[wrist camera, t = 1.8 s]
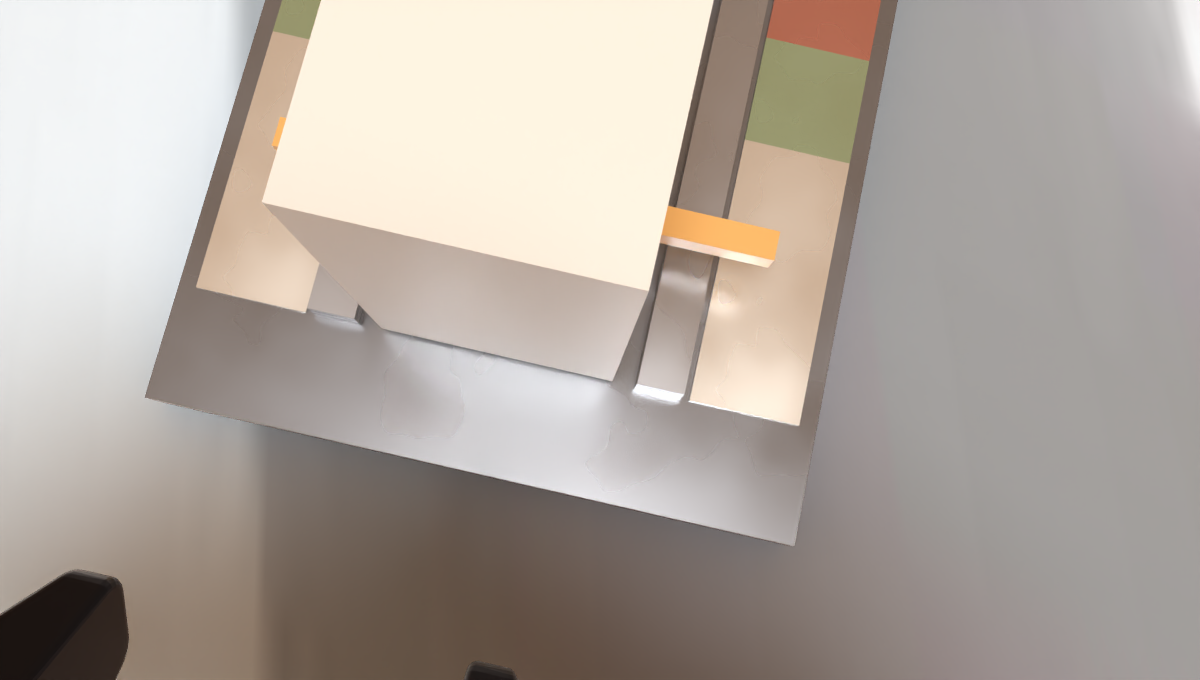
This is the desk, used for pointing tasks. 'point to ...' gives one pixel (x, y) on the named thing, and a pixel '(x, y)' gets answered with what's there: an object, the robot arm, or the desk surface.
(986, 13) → the desk surface
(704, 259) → the gauge base
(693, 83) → the cream box
